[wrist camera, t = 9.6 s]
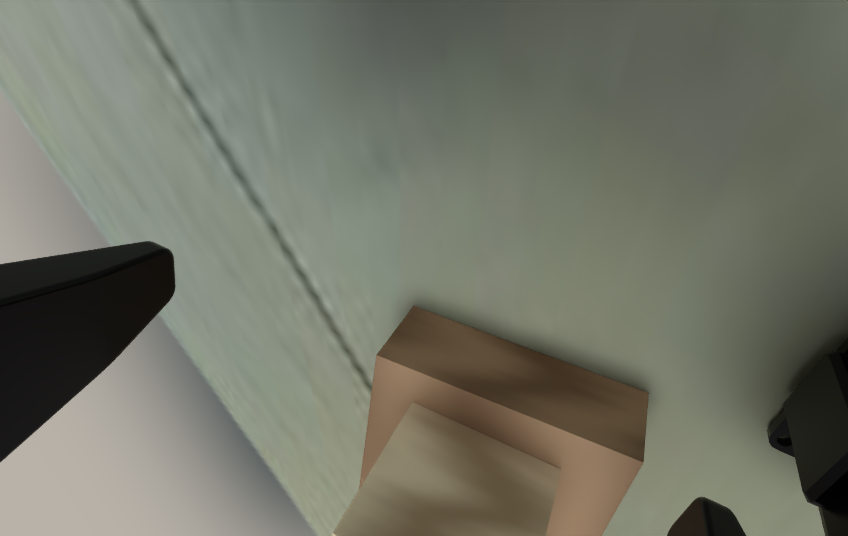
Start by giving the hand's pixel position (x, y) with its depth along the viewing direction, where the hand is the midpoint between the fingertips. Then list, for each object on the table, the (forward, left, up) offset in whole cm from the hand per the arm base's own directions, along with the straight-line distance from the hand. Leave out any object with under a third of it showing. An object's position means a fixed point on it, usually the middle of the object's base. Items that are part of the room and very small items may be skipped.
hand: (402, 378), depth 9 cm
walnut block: (-2, +13, -12) cm, 18 cm away
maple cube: (-2, +13, -8) cm, 15 cm away
